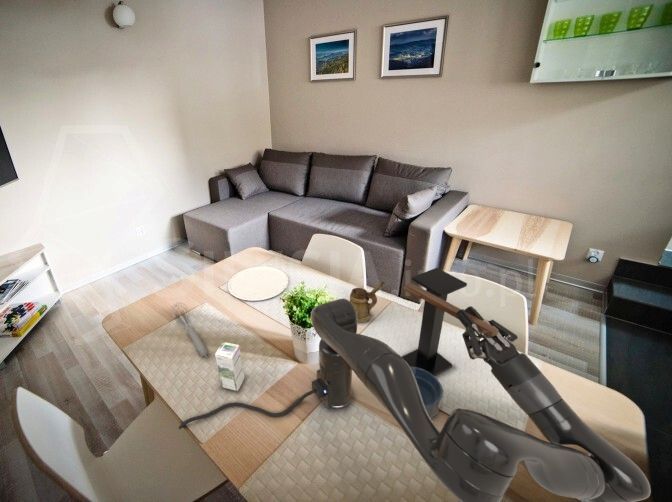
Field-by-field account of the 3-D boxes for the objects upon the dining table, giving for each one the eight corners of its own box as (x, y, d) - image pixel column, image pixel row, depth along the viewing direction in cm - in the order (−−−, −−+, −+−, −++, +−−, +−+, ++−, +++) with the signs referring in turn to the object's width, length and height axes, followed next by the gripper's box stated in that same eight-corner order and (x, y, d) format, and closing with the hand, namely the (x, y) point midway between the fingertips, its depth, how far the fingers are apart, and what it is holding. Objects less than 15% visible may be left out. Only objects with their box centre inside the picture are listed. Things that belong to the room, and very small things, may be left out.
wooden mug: (378, 329, 121) (381, 289, 114) (343, 318, 128) (344, 279, 121) (384, 315, 128) (387, 276, 121) (351, 306, 135) (352, 268, 127)
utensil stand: (424, 382, 99) (438, 295, 86) (399, 360, 108) (409, 277, 94) (452, 367, 103) (469, 282, 90) (426, 347, 112) (439, 266, 98)
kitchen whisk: (199, 364, 113) (196, 350, 110) (170, 315, 139) (167, 302, 137) (215, 356, 116) (212, 342, 113) (184, 309, 142) (181, 297, 140)
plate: (237, 309, 139) (237, 307, 138) (221, 277, 164) (221, 275, 163) (299, 291, 148) (298, 288, 147) (275, 262, 173) (274, 260, 172)
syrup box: (245, 377, 106) (239, 343, 100) (237, 392, 101) (231, 357, 95) (229, 373, 108) (223, 340, 102) (221, 388, 103) (214, 354, 97)
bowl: (415, 429, 86) (417, 413, 84) (380, 391, 97) (381, 377, 95) (450, 408, 91) (454, 392, 88) (413, 374, 102) (415, 360, 100)
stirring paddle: (488, 338, 69) (489, 333, 68) (402, 289, 90) (403, 285, 89) (499, 333, 70) (501, 328, 70) (412, 286, 91) (412, 282, 91)
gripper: (559, 365, 65) (493, 293, 75) (516, 388, 60) (451, 308, 70) (531, 378, 71) (473, 310, 81) (490, 401, 65) (432, 325, 76)
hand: (463, 310), depth 75 cm, fingers closed on stirring paddle
